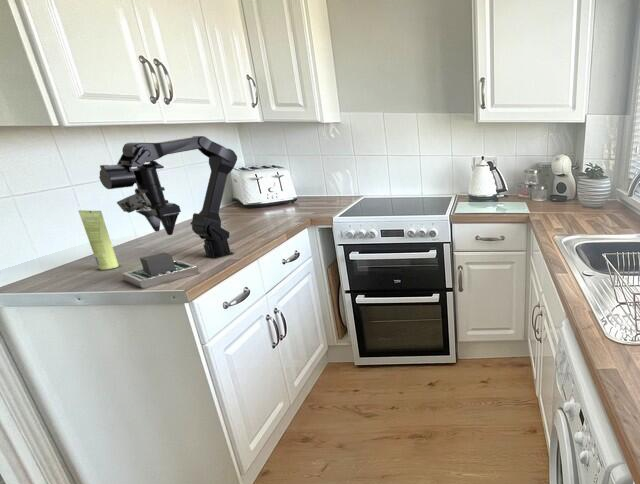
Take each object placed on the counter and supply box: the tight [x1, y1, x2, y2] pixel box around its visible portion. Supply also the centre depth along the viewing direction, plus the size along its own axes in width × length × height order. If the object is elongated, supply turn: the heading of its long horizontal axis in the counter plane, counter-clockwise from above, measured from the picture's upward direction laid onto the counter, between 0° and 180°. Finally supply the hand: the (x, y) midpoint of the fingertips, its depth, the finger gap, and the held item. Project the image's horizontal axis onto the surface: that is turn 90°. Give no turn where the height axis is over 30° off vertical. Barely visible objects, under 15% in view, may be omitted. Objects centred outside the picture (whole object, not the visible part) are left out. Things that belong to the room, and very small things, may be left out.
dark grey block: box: [139, 252, 176, 276], centre depth 129 cm, size 6×5×5 cm
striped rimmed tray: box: [121, 259, 199, 290], centre depth 130 cm, size 15×13×2 cm
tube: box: [77, 209, 119, 271], centre depth 135 cm, size 6×5×20 cm
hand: (163, 233), depth 134 cm, fingers open, 9 cm apart
